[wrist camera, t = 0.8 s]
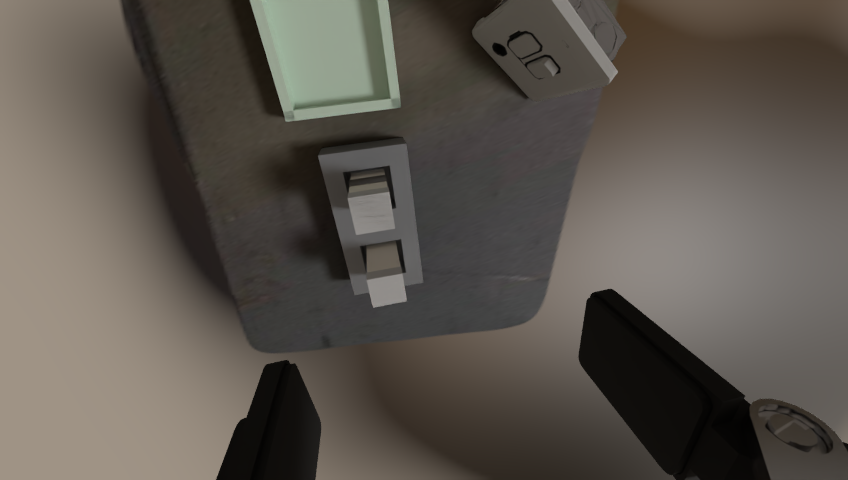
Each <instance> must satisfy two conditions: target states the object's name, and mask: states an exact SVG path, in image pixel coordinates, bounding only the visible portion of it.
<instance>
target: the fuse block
mask: <svg viewBox="0 0 848 480" xmlns="http://www.w3.org/2000/svg"><path fill="white" fill-rule="evenodd" d="M318 158H319V162H320V166H321V170H322V173H323V177H324V181H325V185H326V188H327V192H328V196H329V200H330V204H331V207H332V211H333V215H334V219H335V222H336V226H337V230H338V234H339V238H340V241H341V245H342V249H343V253H344V256H345V260H346V264H347V268H348V272H349V275H350V279H351V283H352V287H353V290H354V294H355V295H358V294H364V293H369V288H368V284H367V274H366V273H367V248H366V245H370V244H376V243H382V242H387V241H393V240H396V244H397V250H398V256H399V261H400V267H401V269H402V274H403V280H404V286H407V285H412V284H418V283H423V276H422V268H421V259H420V251H419V243H418V235H417V227H416V218H415V210H414V202H413V194H412V186H411V177H410V169H409V161H408V153H407V145H406V142H405V140H404V139H403V137H401V138H393V139H386V140H379V141H371V142H364V143H357V144H349V145H342V146H334V147H327V148H321V150H320V152H319V154H318ZM383 166H384V171H385V175H386V179H387V185H388V188H389V193H390V199H391V206H392V212H393V218H394V224H395V229H390V230H383V231H377V232H371V233H365V234H359V235H356V232H355V228H354V224H353V220H352V215H351V211H350V207H349V202H348V193H349V181H350V178H351V174H350V172H351V171H356V170H362V169H369V168H376V167H383Z"/></svg>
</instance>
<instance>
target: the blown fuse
mask: <svg viewBox="0 0 848 480" xmlns="http://www.w3.org/2000/svg"><path fill="white" fill-rule="evenodd" d="M350 174H351V178H350V181H349V193H348V202H349V207H350V211H351V215H352V220H353V224H354V228H355V232H356V235H359V234H365V233H371V232H377V231H383V230H390V229H395V224H394V218H393V212H392V206H391V199H390V193H389V188H388V185H387V179H386V175H385V171H384V166H383V167H376V168H369V169H362V170H356V171H351V172H350Z"/></svg>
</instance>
